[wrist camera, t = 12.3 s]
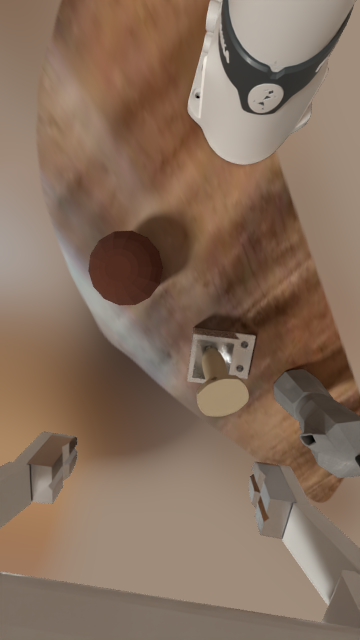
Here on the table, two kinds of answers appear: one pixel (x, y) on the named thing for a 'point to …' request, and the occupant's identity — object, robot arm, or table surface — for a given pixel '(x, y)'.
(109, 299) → the muffin
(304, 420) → the coffeepot
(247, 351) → the flanged open box
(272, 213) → the table surface
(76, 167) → the table surface
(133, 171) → the table surface
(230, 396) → the handle
